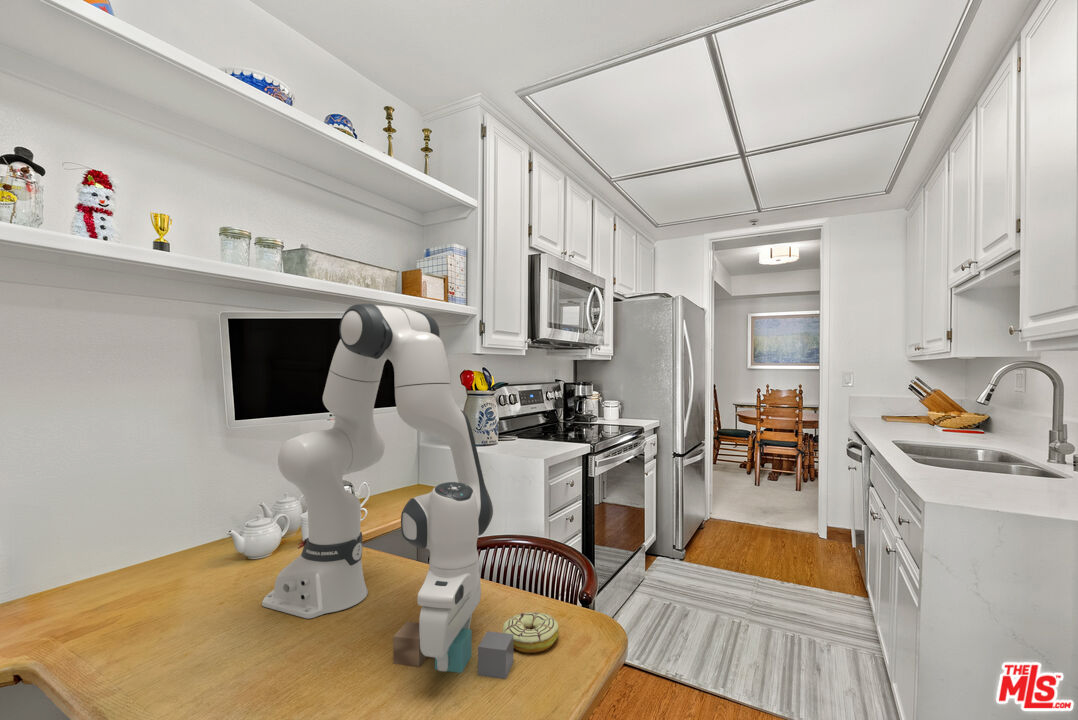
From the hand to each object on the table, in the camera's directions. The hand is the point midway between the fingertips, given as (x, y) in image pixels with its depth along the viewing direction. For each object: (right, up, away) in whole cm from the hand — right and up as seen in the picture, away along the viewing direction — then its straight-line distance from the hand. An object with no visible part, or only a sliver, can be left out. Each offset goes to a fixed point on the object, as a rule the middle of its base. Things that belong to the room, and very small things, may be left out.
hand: (454, 652), depth 87 cm
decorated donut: (+14, -2, +7) cm, 16 cm away
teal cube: (0, -2, 0) cm, 2 cm away
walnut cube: (-8, -2, +2) cm, 8 cm away
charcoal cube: (+8, -2, -2) cm, 8 cm away
